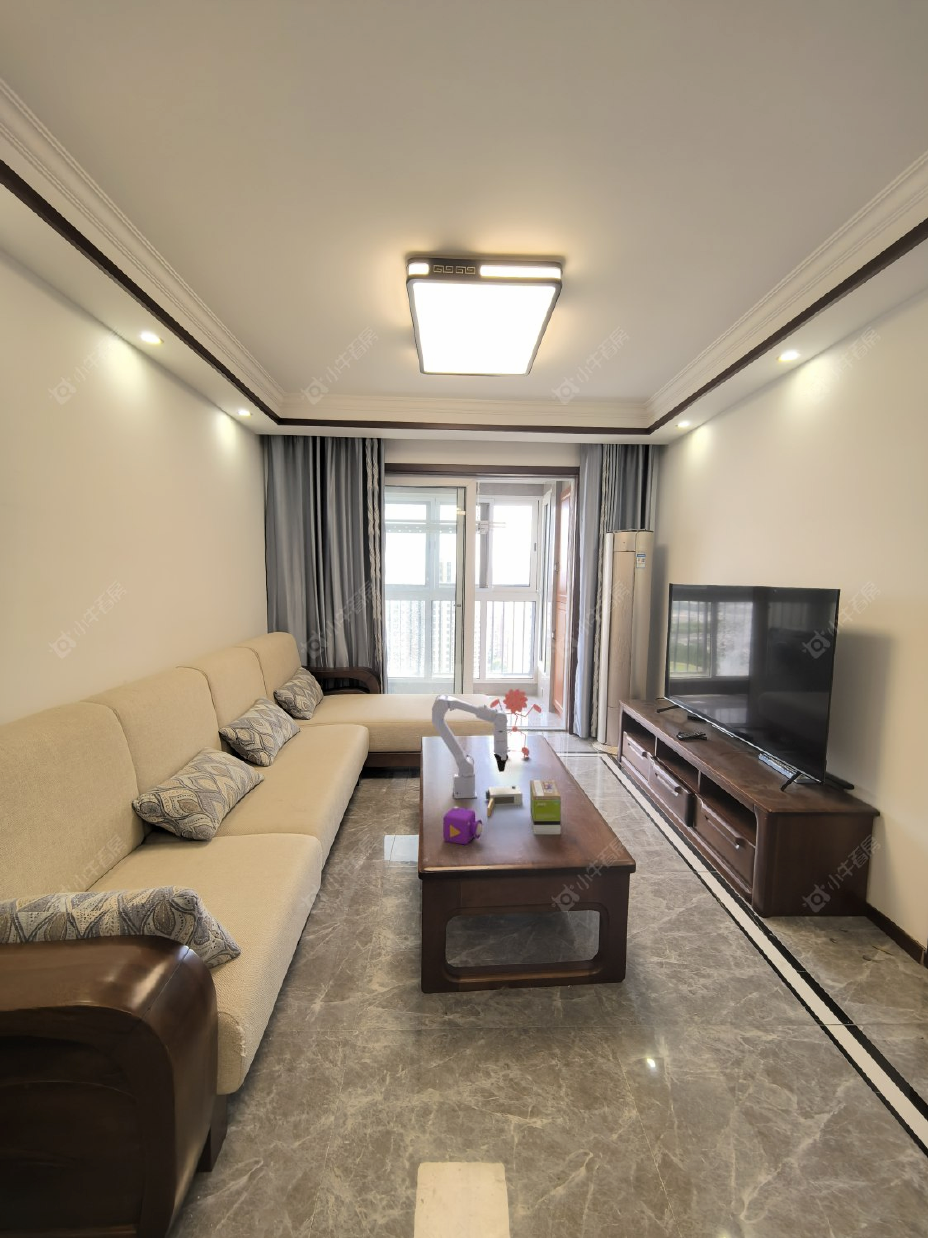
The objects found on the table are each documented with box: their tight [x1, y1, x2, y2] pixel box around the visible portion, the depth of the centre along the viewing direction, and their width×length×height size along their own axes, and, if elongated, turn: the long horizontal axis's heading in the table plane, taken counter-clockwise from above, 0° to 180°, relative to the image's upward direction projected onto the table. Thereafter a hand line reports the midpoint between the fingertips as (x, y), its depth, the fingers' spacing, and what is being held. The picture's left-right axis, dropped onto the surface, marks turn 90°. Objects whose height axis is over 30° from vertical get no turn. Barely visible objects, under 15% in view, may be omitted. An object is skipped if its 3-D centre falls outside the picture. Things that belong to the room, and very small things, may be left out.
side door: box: [486, 797, 494, 818], centre depth 213 cm, size 10×1×4 cm, turn 168°
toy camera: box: [442, 805, 483, 845], centre depth 191 cm, size 11×14×10 cm
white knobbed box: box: [485, 785, 523, 807], centre depth 223 cm, size 14×8×5 cm, turn 96°
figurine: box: [489, 688, 542, 761], centre depth 277 cm, size 15×26×35 cm, turn 86°
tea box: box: [529, 779, 562, 835], centre depth 201 cm, size 15×10×15 cm, turn 178°
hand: (501, 771), depth 228 cm, fingers closed
